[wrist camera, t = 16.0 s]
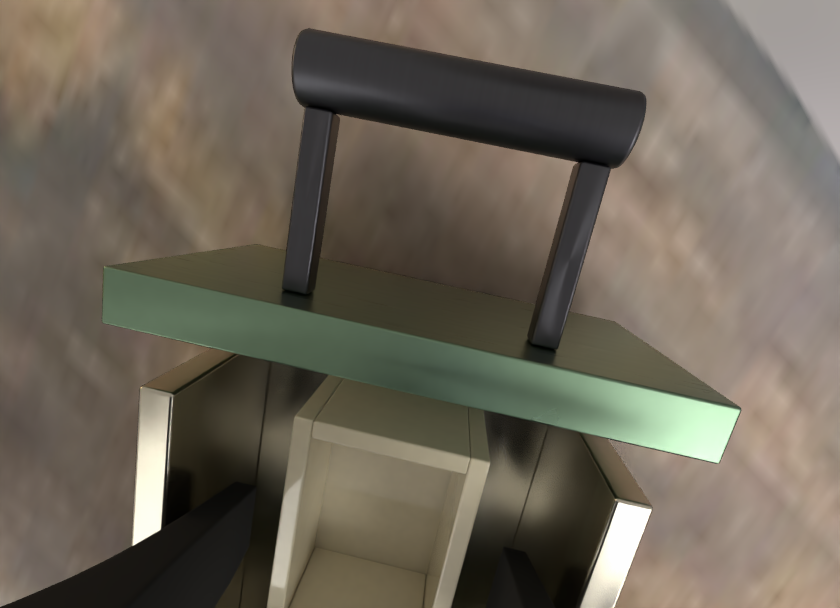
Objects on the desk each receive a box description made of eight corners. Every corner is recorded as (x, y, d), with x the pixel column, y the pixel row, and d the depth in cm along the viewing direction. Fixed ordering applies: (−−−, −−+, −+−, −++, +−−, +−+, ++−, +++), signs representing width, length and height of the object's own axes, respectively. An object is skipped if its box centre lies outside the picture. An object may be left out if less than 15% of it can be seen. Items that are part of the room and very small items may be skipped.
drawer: (273, 80, 13) (110, -38, 7) (668, 158, 13) (870, 104, 6) (215, 602, 18) (86, 807, 12) (502, 675, 17) (525, 932, 11)
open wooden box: (482, 400, 14) (491, 462, 10) (438, 573, 15) (432, 678, 12) (334, 366, 14) (293, 416, 10) (305, 540, 15) (261, 634, 12)
